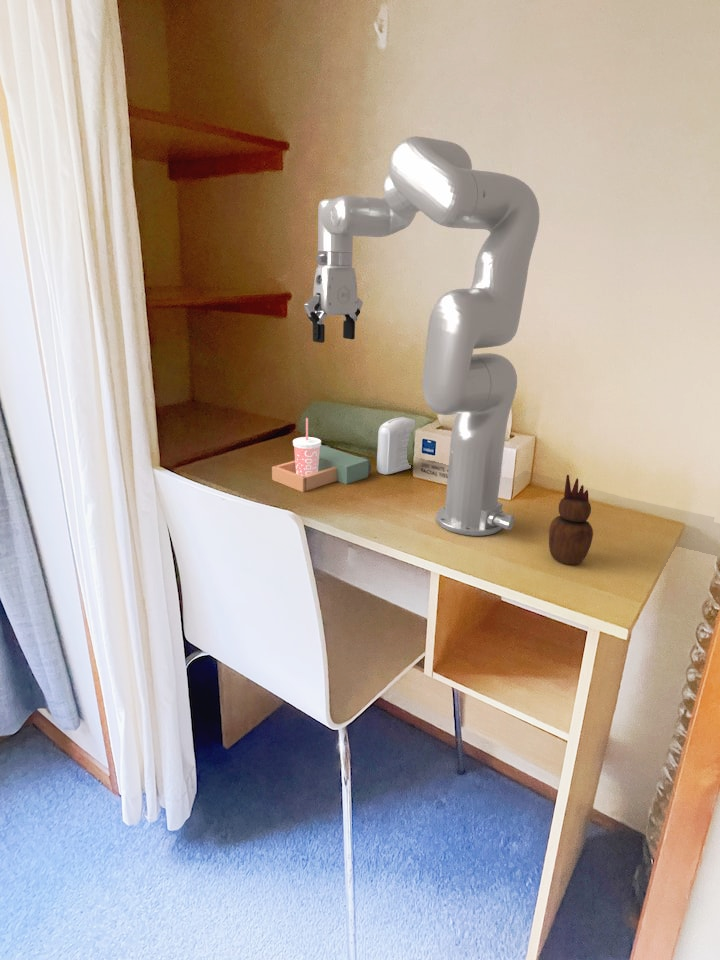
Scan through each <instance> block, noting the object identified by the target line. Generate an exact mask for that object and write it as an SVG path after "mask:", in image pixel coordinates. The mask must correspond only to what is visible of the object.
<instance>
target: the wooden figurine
mask: <svg viewBox="0 0 720 960" xmlns="http://www.w3.org/2000/svg"><path fill="white" fill-rule="evenodd" d="M564 486H565V487H564V493H563V497H562V498H561V499H560V500H559V501H560V502H559V503H558V514H559V515H557V516H556V517H554V519H553V520H552V521H551V522H550V525H549V530H548V548H549V552H550V556H551V557H552V558H553V559H554V560H555V561H557V562H559V563H562V564H565V565H579V564H581V563H582V562H583V561H584V559H585V558H586V557H587V555H588V552H589V550H590V548H591V546H592V542H593V537H594V529H593V527H592V525H591V523H590V522H589V521H588V519H589V517H590V515H591V513H592V505H591V503H590V500H589V490H588V489H586V490H585V491H584V487H585V486H584V485H583V484H581V485H580V488H579V478H578V477H577V478H576V479H575V482H574V484H573V486H572V487H573V488H572V487H571V480H570V475H569V474H566V478H565V485H564ZM571 488H572V489H571Z"/></svg>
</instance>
